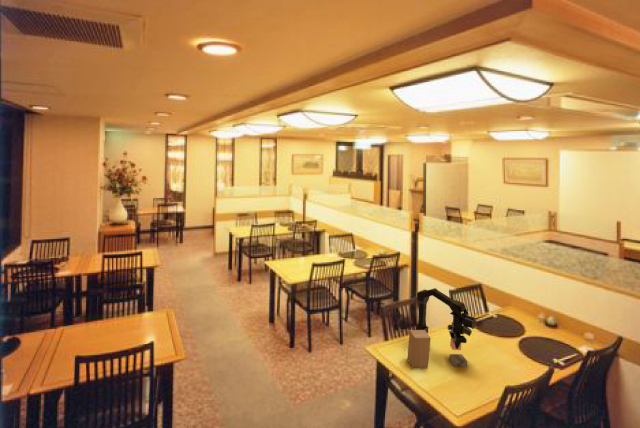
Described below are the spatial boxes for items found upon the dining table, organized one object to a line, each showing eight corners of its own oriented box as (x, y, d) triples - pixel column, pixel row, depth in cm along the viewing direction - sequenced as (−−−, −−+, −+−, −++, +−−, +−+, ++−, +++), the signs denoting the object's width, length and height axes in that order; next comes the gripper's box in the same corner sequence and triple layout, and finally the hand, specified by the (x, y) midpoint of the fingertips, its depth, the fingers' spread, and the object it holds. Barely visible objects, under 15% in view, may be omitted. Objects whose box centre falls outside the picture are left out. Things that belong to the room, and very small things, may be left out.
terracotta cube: (452, 349, 223) (453, 342, 222) (450, 345, 228) (450, 338, 227) (460, 350, 222) (461, 342, 222) (458, 346, 227) (458, 338, 227)
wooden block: (407, 359, 229) (409, 329, 226) (422, 358, 230) (424, 329, 227) (412, 368, 220) (414, 337, 216) (428, 368, 220) (430, 337, 217)
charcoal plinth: (454, 367, 223) (455, 361, 222) (449, 360, 231) (449, 354, 230) (466, 367, 223) (467, 361, 223) (461, 359, 231) (461, 354, 231)
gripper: (476, 330, 213) (474, 355, 215) (465, 316, 231) (463, 339, 234) (457, 329, 213) (455, 354, 216) (448, 316, 232) (446, 338, 234)
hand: (455, 346), depth 225 cm, fingers closed on terracotta cube, 5 cm apart
